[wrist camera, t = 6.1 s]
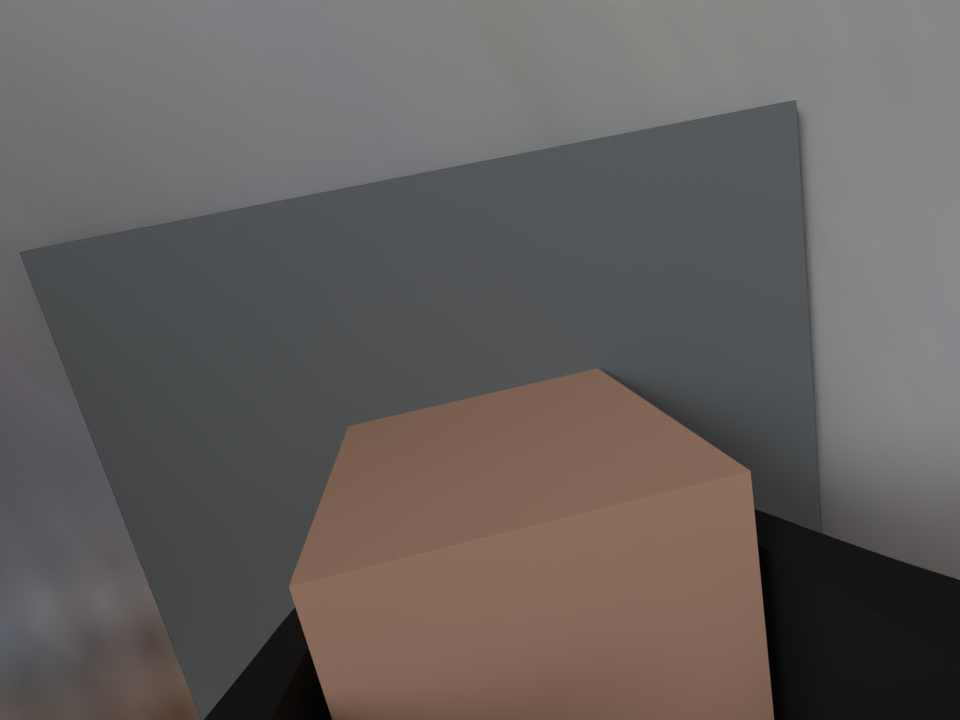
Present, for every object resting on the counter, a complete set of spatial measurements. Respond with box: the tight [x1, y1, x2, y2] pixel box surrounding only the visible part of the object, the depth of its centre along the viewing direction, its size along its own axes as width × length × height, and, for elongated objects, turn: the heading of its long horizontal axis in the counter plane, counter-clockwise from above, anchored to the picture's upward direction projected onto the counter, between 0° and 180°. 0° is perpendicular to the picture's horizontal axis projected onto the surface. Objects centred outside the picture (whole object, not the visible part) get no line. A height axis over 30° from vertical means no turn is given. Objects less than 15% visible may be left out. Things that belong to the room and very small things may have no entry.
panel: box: [20, 100, 822, 720], centre depth 11 cm, size 14×14×1 cm
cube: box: [289, 368, 774, 720], centre depth 9 cm, size 5×5×5 cm
